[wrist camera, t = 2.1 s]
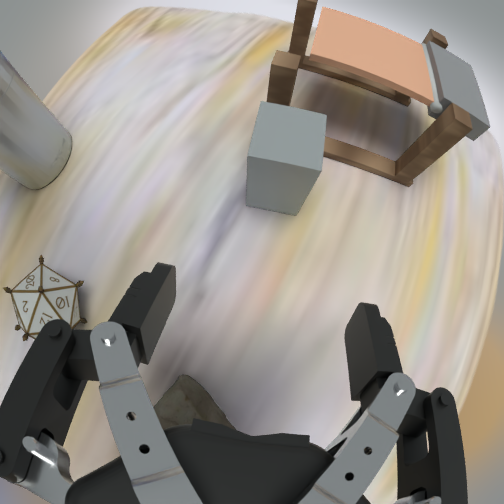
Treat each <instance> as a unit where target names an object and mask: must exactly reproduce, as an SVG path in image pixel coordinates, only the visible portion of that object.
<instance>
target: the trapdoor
mask: <svg viewBox="0 0 504 504" xmlns="http://www.w3.org/2000/svg"><path fill="white" fill-rule="evenodd" d="M309 60H311V61H315V62H318V63H322V64H325V65H329V66H332V67H335V68H338V69H341V70H344V71H347V72H350V73H353V74H356V75H359V76H361V77H364V78H367V79H369V80H372V81H375V82H377V83H380V84H382V85H384V86H387V87H389V88H392V89H394V90H396V91H398V92H401V93H403V94H405V95H407V96H409V97H411V98H413V99H416V100H418V101H420V102H422V103H424V104H426V105H427V107H428V115H429V116H431V117H433V118H435V119H437V118H438V117H439V116H440V115H441V114H442V113H443V112H444V111H445V110H446V109H447V107H448V106H449V105H450V104H451V103H452V102H453V103H454V104H456V105H458V106H459V107H461V108H463V109H464V110H466V111H467V112H469V115H470V119H471V124H472V129H473V130H471V131H470V132H469V133H468V134H467V135H466V137H468V138H470V139H471V140H473V141H474V140H475V139H477V138H478V137H479V136H480V135H481V134H483V133H484V132H485V131H486V130H487V129H488V128H490V124H489V120H488V116H487V113H486V109H485V105H484V102H483V99H482V96H481V93H480V90H479V86H478V83H477V81H476V78H475V75H474V73H473V70H472V67H471V65H469V64H468V63H466V62H465V61H463V60H462V59H460V58H459V57H457V56H455V55H454V54H452V53H451V52H449V51H447V50H445V49H444V48H442V47H440V46H439V45H437V44H435V43H433V42H431V41H428V43H427V45H426V44H424V43H421V44H419V43H418V42H415V41H413V40H411V39H409V38H407V37H405V36H403V35H401V34H399V33H396V32H394V31H392V30H389V29H387V28H385V27H382V26H379V25H377V24H375V23H372V22H369V21H367V20H364V19H361V18H358V17H355V16H352V15H349V14H346V13H343V12H340V11H336V10H333V9H330V8H326V7H322V11H321V15H320V19H319V23H318V27H317V31H316V35H315V38H314V42H313V46H312V50H311V54H310V58H309Z"/></svg>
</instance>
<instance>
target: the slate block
mask: <svg viewBox="0 0 504 504" xmlns="http://www.w3.org/2000/svg"><path fill="white" fill-rule="evenodd" d="M326 120H327V115H325V114H321V113H317V112H312V111H308V110H304V109H299V108H295V107H290V106H285V105H280V104H275V103H269V102H263V101H261V103H260V107H259V111H258V115H257V119H256V123H255V127H254V131H253V135H252V139H251V143H250V147H249V151H248V156H247V189H246V206H249V207H254V208H259V209H264V210H270V211H274V212H279V213H284V214H289V215H294V216H296V215H297V213H298V212H299V210H300V208H301V206H302V205H303V203H304V201H305V199H306V198H307V196H308V194H309V192H310V191H311V189H312V187H313V185H314V184H315V182H316V180H317V178H318V177H319V175H320V173H321V171H322V163H323V153H324V143H325V132H326Z"/></svg>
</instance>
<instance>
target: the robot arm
mask: <svg viewBox="0 0 504 504" xmlns="http://www.w3.org/2000/svg"><path fill="white" fill-rule="evenodd" d="M71 147H72V140H71V136H70V134H69V132H68V131H67V130H66V129H65V128H64V126H63V125H62V124H61V123H60V122H59V121H58V120H57V118H56V117H55V116H54V115H53V114H52V113H51V111H50V110H49V109H48V108H47V107H46V106H45V104H44V103H43V102H42V101H41V100H40V99H39V98H38V96H37V95H36V94H35V93H34V92H33V90H32V89H31V88H30V87H29V86H28V84H27V83H26V82H25V81H24V80H23V78H22V77H21V76H20V75H19V73H18V72H17V71H16V70H15V68H14V67H13V66H12V65H11V64H10V62H9V61H8V60H7V58H6V57H5V56H4V55H3V53H2V52H1V51H0V170H1V171H3V172H4V173H6V174H7V175H9V176H10V177H12V178H13V179H15V180H16V181H18V182H19V183H21V184H23V185H24V186H26V187H27V188H29V189H39V188H42V187H44V186H46V185H48V184H49V183H50V182H51V181H53V180H54V179H55V178H56V176H57V175H58V174H59V173H60V172H61V170H62V169H63V167H64V166H65V164H66V162H67V160H68V157H69V155H70V151H71ZM175 297H176V268H175V266H173V265H168V264H164V263H159V262H158V263H157V264H156V265H155V267H154V269H153V270H152V272H151V273H149V272H145V271H144V272H143V273H141V274H140V275H139V276H137V277H136V278H135V279H134V280H133V282H132V284H131V285H130V288H128V290H127V291H126V293H125V295H124V296H123V298H122V299H121V301H120V303H119V304H118V306H117V307H116V309H115V311H114V312H113V314H112V316H111V317H110V319H109V320H108V322H103V323H100V324H99V325H97V326H96V327H95V328H94V329H93V330H73V329H71V327H70V325H69V323H68V322H66V321H65V320H62V319H54V320H51V321H49V322H47V323H46V324H45V325H44V326H43V328H42V329H41V331H40V332H39V334H38V336H37V337H36V339H35V341H34V342H33V344H32V346H31V348H30V349H29V351H28V353H27V355H26V356H25V358H24V360H23V362H22V364H21V365H20V367H19V369H18V371H17V373H16V375H15V377H14V379H13V381H12V383H11V385H10V387H9V389H8V391H7V393H6V395H5V397H4V400H3V402H2V404H1V406H0V477H1V478H4V479H6V480H7V481H9V482H11V483H13V484H15V485H18V486H20V487H23V488H25V489H27V490H29V491H31V492H32V493H34V494H36V495H37V496H39V497H41V498H42V499H44V500H46V501H48V502H50V503H51V504H371V503H370V502H369V501H368V500H367V499H366V497H365V496H364V495H363V493H364V492H365V490H366V489H367V487H368V486H369V485H370V483H371V482H372V480H373V479H374V477H375V476H376V474H377V473H378V471H379V470H380V468H381V467H382V465H383V463H384V462H385V460H386V459H387V457H388V455H389V454H390V452H391V450H392V449H393V447H394V445H395V443H397V469H398V496H397V501H396V502H395V503H394V504H468V500H467V499H468V497H467V480H466V467H465V458H464V450H463V443H462V436H461V430H460V424H459V419H458V414H457V409H456V404H455V400H454V397H453V395H452V394H451V393H450V392H449V391H448V390H447V389H445V388H441V387H440V388H436V389H435V390H434V391H433V392H431V393H428V392H425V391H423V390H420V389H417V388H415V385H414V382H413V381H412V379H411V378H410V377H408V376H407V375H405V374H403V371H402V367H401V363H400V358H399V355H398V351H397V347H396V346H395V344H396V343H395V339H394V338H393V337H394V336H393V332H392V329H391V326H390V325H389V323H388V322H387V320H386V319H385V318H384V317H381V316H380V312H379V309H378V306H377V305H375V304H369V303H362V302H361V303H359V304H358V306H357V308H356V310H355V312H354V314H353V315H352V317H351V319H350V321H349V323H348V324H347V327H346V330H345V346H346V354H347V362H348V371H349V381H350V391H351V400H352V401H360V402H361V406H360V407H359V408H358V409H357V411H356V412H355V414H354V415H353V416H352V418H351V419H350V420H349V422H348V423H347V424H346V426H345V427H344V428H343V429H342V431H341V432H340V433H339V435H338V436H337V437H336V438H335V439H334V440H333V441H332V442H331V443H330V444H329V445H328V446H327V447H326V448H325V449H323V448H321V447H319V446H318V445H315V444H313V443H310V442H309V437H310V435H297V434H285V433H279V434H271V435H261V436H249V435H247V434H244V433H242V432H239V431H237V430H234V429H232V428H230V427H227V426H225V425H223V424H218V423H214V422H209V421H204V420H200V419H196V418H193V422H192V424H184V425H177V426H172V427H169V428H166V429H164V430H163V429H162V427H161V424H160V422H159V420H158V418H157V415H156V413H155V411H154V408H153V406H152V404H151V401H150V399H149V396H148V394H147V391H146V389H145V386H144V383H143V381H142V378H141V376H140V374H139V371H138V366H139V364H140V362H141V363H144V364H147V365H148V364H149V361H150V359H151V356H152V354H153V352H154V349H155V347H156V344H157V342H158V340H159V337H160V335H161V333H162V330H163V328H164V326H165V324H166V321H167V319H168V317H169V314H170V312H171V310H172V308H173V305H174V302H175ZM88 380H90V381H100V386H99V390H100V395H101V398H102V402H103V405H104V409H105V412H106V415H107V418H108V421H109V424H110V428H111V430H112V433H113V436H114V439H115V442H116V445H117V447H118V450H119V452H120V455H121V456H119V457H118V458H116V459H114V460H113V461H111V462H109V463H107V464H106V465H104V466H102V467H100V468H98V469H97V470H95V471H93V472H91V473H89V474H87V475H85V476H83V477H81V478H80V479H78V480H76V481H75V482H74V481H73V480H72V478H71V476H70V472H69V467H70V458H69V455H68V453H67V451H66V450H65V449H64V448H63V445H64V442H65V439H66V436H67V433H68V430H69V427H70V424H71V422H72V419H73V416H74V414H75V411H76V408H77V406H78V403H79V401H80V398H81V396H82V393H83V391H84V388H85V386H86V383H87V381H88ZM426 432H428V441H429V452H428V449H427V439H426Z"/></svg>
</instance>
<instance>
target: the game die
mask: <svg viewBox="0 0 504 504" xmlns="http://www.w3.org/2000/svg"><path fill="white" fill-rule="evenodd" d="M39 262H40V265H39V266H38V267H36V268H35V269H34V270H33V271H32V272H31V273H30V274H28V275H27V276H26V277H25V278H24V279H23V280H22V281H21V282H20V283H18V284H17V285H16V286H15V287H14V288H13V289H12V290H11V289H10V288H8V287H5V288H4V290H5V291H6V292H7V293H11V297H12V301H13V305H14V309H15V312H16V316H17V320H18V323H19V325H17V326H16V327H15V330H17V331H18V330H19V329H20V328H22V330H23V331H24V332H25V333H26V334H24V335H23V341H25V340H27V339H28V336H30V337H31V338H33V339H36V337H37V336H38V334H39V332H40V331H41V329H42V328H43V326H44V325H45V324H46V323H47V322H49V321H51V320H54V319H62V320H65V321H66V322H68V323H69V325H70V327H71V329H73V328H74V327H75V326H76V325H77V324H78V323H79V322H80V321H81V322H82V323H84V324H85V323H87V321H86V320H85V319H83V318H80V309H79V300H78V287H80V286H82V284H83V282H84V281H79V282H77V284H74V283H73V282H71V281H69V280H68V279H66V278H64V277H63V276H61V275H60V274H58V273H56V272H55V271H53V270H52V269H50V268H49V267H47V266H45V265H44V264H43V262H44V258H43V257H42V255H41V256H40V258H39Z"/></svg>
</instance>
